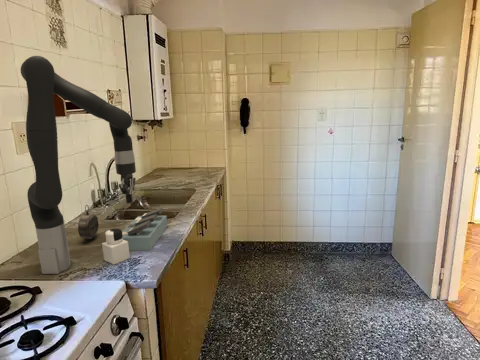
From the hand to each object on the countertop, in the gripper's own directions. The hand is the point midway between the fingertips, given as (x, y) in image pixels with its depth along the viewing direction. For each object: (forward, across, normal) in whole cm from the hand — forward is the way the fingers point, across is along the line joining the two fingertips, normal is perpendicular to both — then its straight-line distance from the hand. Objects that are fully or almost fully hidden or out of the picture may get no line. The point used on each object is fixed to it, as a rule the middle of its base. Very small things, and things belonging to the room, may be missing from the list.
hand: (129, 202), depth 142 cm
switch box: (+19, +9, -2) cm, 21 cm away
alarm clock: (+19, +7, +22) cm, 30 cm away
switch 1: (+11, +18, -3) cm, 21 cm away
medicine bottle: (+19, -13, +2) cm, 23 cm away
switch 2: (+11, +9, -3) cm, 14 cm away
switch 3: (+11, 0, -3) cm, 11 cm away
